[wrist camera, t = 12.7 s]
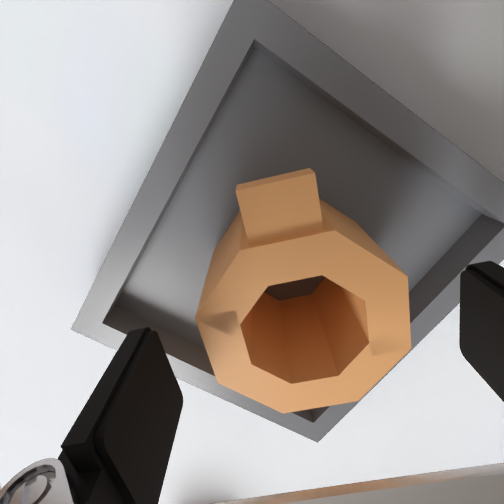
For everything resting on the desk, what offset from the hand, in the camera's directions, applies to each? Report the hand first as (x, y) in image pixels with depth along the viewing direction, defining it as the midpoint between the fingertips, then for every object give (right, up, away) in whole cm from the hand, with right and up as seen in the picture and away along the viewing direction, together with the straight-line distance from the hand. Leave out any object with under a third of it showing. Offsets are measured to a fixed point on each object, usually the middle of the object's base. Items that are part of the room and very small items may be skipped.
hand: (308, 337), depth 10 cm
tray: (0, +2, +5) cm, 5 cm away
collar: (0, +2, +4) cm, 5 cm away
